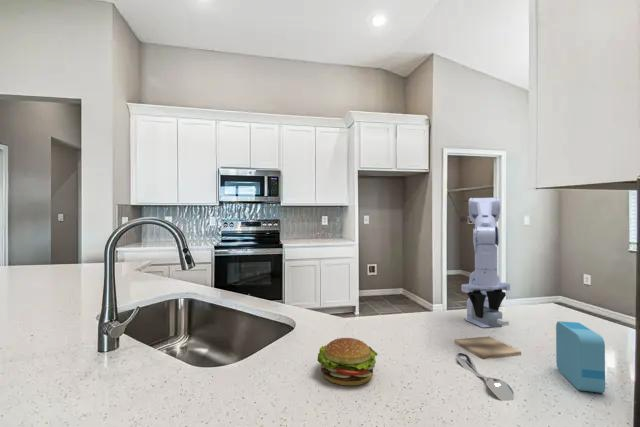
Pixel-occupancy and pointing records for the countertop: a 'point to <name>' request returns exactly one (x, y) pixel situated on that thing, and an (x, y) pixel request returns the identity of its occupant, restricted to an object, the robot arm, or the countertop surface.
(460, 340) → the cork pad
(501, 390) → the silver spoon
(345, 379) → the food
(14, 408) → the countertop surface
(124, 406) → the countertop surface
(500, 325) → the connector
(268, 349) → the countertop surface
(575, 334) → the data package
